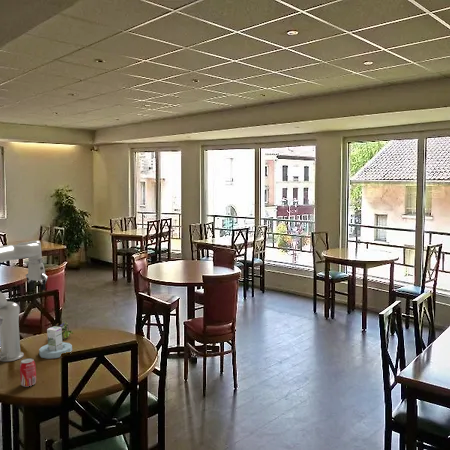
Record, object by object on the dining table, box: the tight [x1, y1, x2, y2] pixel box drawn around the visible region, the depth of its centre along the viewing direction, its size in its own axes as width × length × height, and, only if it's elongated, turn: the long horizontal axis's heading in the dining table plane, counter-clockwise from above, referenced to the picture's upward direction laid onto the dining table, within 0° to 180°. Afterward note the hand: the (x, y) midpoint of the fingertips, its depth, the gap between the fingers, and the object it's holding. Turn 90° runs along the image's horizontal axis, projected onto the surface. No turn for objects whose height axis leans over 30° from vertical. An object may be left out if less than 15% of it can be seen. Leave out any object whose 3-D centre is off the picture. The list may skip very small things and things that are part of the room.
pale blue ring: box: [38, 341, 73, 360], centre depth 270 cm, size 17×17×3 cm
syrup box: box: [46, 325, 63, 351], centre depth 270 cm, size 6×6×14 cm
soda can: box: [19, 357, 37, 388], centre depth 229 cm, size 7×7×12 cm
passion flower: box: [54, 321, 74, 342], centre depth 296 cm, size 11×11×12 cm
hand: (37, 289), depth 286 cm, fingers open, 9 cm apart
